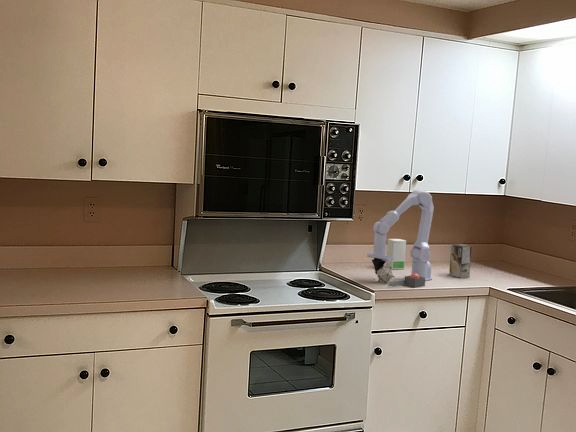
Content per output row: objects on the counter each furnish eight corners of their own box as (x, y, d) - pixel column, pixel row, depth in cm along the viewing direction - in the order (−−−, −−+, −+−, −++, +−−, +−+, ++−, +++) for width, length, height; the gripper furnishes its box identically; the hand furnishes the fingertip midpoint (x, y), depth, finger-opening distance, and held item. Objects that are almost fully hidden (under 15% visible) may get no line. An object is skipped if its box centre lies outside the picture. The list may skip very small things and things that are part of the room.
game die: (382, 290, 311) (375, 275, 306) (377, 280, 319) (370, 265, 314) (399, 282, 310) (392, 267, 306) (394, 272, 318) (387, 257, 313)
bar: (402, 284, 309) (402, 279, 309) (404, 284, 308) (404, 279, 308) (388, 286, 304) (389, 281, 304) (390, 286, 303) (391, 281, 303)
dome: (414, 282, 312) (415, 271, 311) (422, 284, 308) (422, 273, 307) (407, 283, 309) (407, 272, 308) (414, 285, 305) (415, 274, 304)
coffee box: (470, 277, 332) (472, 246, 330) (460, 278, 329) (462, 246, 327) (457, 273, 340) (460, 243, 338) (448, 274, 337) (450, 243, 335)
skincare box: (391, 269, 343) (393, 240, 341) (385, 267, 349) (386, 238, 347) (405, 269, 346) (406, 240, 344) (398, 266, 352) (400, 238, 350)
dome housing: (414, 283, 313) (414, 274, 313) (424, 286, 308) (425, 277, 307) (404, 284, 309) (404, 276, 309) (414, 287, 304) (415, 279, 303)
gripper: (363, 244, 318) (361, 271, 320) (384, 249, 306) (382, 277, 308) (373, 243, 322) (372, 270, 324) (395, 248, 310) (393, 276, 312)
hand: (378, 274), depth 316 cm, fingers closed
